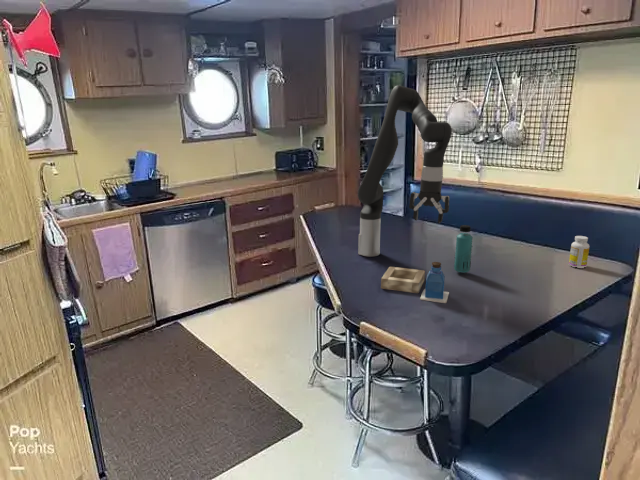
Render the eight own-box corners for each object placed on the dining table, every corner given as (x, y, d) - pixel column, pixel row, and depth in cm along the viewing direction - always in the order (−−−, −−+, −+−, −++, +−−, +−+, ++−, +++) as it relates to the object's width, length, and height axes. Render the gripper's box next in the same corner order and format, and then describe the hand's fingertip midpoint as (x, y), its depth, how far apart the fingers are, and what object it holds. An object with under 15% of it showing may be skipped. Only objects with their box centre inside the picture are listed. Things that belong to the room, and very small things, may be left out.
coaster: (420, 299, 164) (420, 298, 163) (424, 290, 172) (424, 288, 171) (446, 303, 160) (446, 301, 160) (449, 293, 168) (449, 292, 168)
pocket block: (380, 288, 174) (381, 278, 173) (389, 275, 186) (389, 266, 185) (418, 293, 169) (419, 283, 168) (424, 280, 182) (425, 270, 180)
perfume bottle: (443, 299, 162) (445, 266, 159) (425, 297, 164) (426, 265, 161) (443, 292, 168) (445, 261, 165) (426, 290, 170) (428, 259, 166)
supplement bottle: (585, 265, 197) (590, 236, 193) (586, 270, 191) (591, 240, 188) (567, 263, 200) (572, 234, 196) (568, 267, 194) (573, 238, 190)
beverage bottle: (461, 277, 184) (465, 228, 179) (449, 272, 190) (453, 224, 184) (473, 274, 187) (477, 226, 182) (461, 269, 193) (465, 223, 187)
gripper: (409, 178, 167) (406, 221, 172) (450, 182, 162) (445, 226, 167) (414, 175, 174) (410, 217, 179) (453, 178, 168) (448, 221, 173)
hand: (427, 221), depth 173 cm, fingers open, 8 cm apart
